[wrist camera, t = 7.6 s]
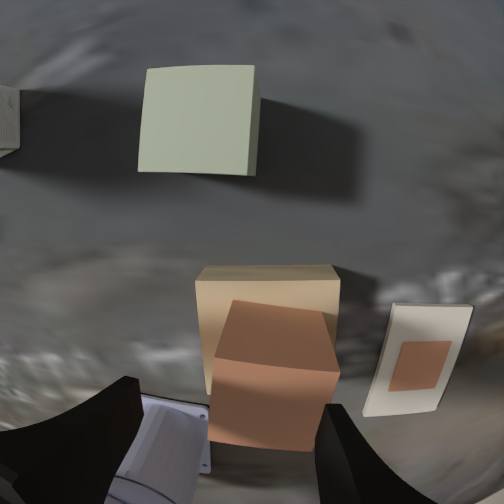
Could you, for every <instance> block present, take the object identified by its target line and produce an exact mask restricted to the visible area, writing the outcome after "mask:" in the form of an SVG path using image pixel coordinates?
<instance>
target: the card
mask: <svg viewBox="0 0 504 504" xmlns="http://www.w3.org/2000/svg"><path fill="white" fill-rule="evenodd" d="M472 310H473V307H472V306H471V305H470V304H429V303H398V302H393V305H392V309H391V314H390V318H389V322H388V327H387V331H386V335H385V339H384V342H383V346H382V350H381V354H380V357H379V361H378V364H377V368H376V371H375V375H374V378H373V381H372V384H371V388H370V391H369V394H368V397H367V400H366V403H365V406H364V409H363V412H362V413H363V416H364V417H369V416H386V415H399V414H410V413H419V412H427V411H435V410H436V407H437V405H438V403H439V401H440V399H441V396H442V394H443V392H444V389H445V387H446V385H447V382H448V380H449V377H450V375H451V372H452V370H453V367H454V364H455V362H456V359H457V356H458V354H459V351H460V348H461V345H462V342H463V339H464V336H465V333H466V330H467V327H468V323H469V320H470V317H471V313H472Z"/></svg>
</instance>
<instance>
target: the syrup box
mask: <svg viewBox="0 0 504 504" xmlns="http://www.w3.org/2000/svg"><path fill="white" fill-rule="evenodd" d="M19 148H20V90H19V89H15V88H11V87H6V86H1V85H0V158H1V157H3V156H5V155H7V154H9V153H11V152H13V151H15V150H17V149H19Z"/></svg>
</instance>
